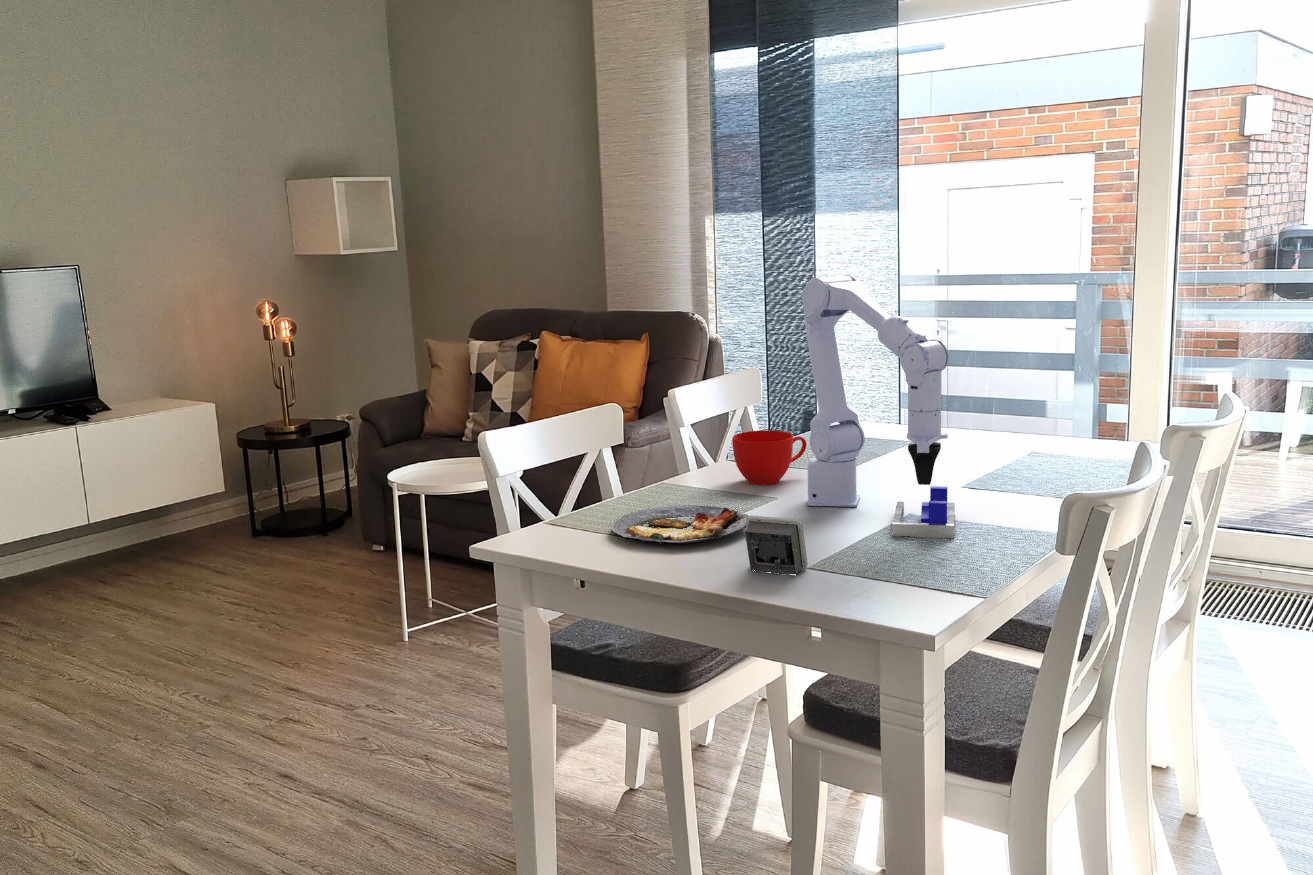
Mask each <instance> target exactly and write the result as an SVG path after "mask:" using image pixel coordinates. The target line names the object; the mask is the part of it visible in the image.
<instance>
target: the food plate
mask: <svg viewBox="0 0 1313 875" xmlns="http://www.w3.org/2000/svg"><path fill="white" fill-rule="evenodd" d="M748 516H749V515H748V514H746V513H742V512H741V511H740V510H734V509H732V508H730V507H729V508H728V507H721V506H713V505H712V506H711V505H706V506H705V505H694V504H685V505H684V504H683V505H680V504H678V505H671V506H669V505H668V506H662V507H656V508H655V507H653V508H648V509H647V508H646V509H642V510H638V511H634V512H631V513H628V514H625V515H623V516H622V517H620V518H617V519H616V520H614V521H613V522H612V526H611V530H612V531H613V532H614V533H615V534H617V535H619V536H621V537H623V538H630V539H636V540H640V541H641V542H658V543H659V544H660V545H662V542H663V543H665V542H666V543H677V544H689V543H690V544H691V543H693V544H694V543H697V542H704V541H712V540H716V539H721V538H727V537H729V536H731V535H732V534H735V533H737V532H739V531H741V530H743V529H747V527H746V519H747V517H748ZM678 517H695V519H693V520H692V521H691V522H688V521H686V520H682V519H666V518H678ZM656 520H658V521H656ZM647 522H648V523H647ZM644 524H647V525H648V527H647V526H643V525H644ZM642 526H643V527H642ZM649 526H654V527H660V528H654V527H649ZM689 526H692V527H693V528H692V529H686V530H684V529H683V528H687V527H689ZM666 528H669V529H666ZM673 528H676V529H673Z"/></svg>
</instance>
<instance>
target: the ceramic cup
mask: <svg viewBox="0 0 1313 875" xmlns="http://www.w3.org/2000/svg"><path fill="white" fill-rule="evenodd" d="M797 441H801V443H802V444H801V447H800V449H799V451H798V453H796V454H795V455H794V456H793V448H794V443H795V442H797ZM731 442H732V451H733V458H734V462H735V464H736V467H737V469H738V471H739V472H740V473H741V475H742V476H743V477H744V480H747V482H748V484H751V485H755V486H769V485H775V484H778V483H780V480H781V479H782V478H783V477H784V476H785V474H786V473H787V472H788V469H789V468H790V465H791V463H793V462H795V461H797V460H798V459H799V458H801V457H802V456H803V454H804V453H805V452H806V450H807V440H806V439H805V438H804V437H802V436H794V435H793V434H792V433H791V432H788V431H781V430H750V431H745V432H739V433H736V434H734V435H733V436H732V441H731Z"/></svg>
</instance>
